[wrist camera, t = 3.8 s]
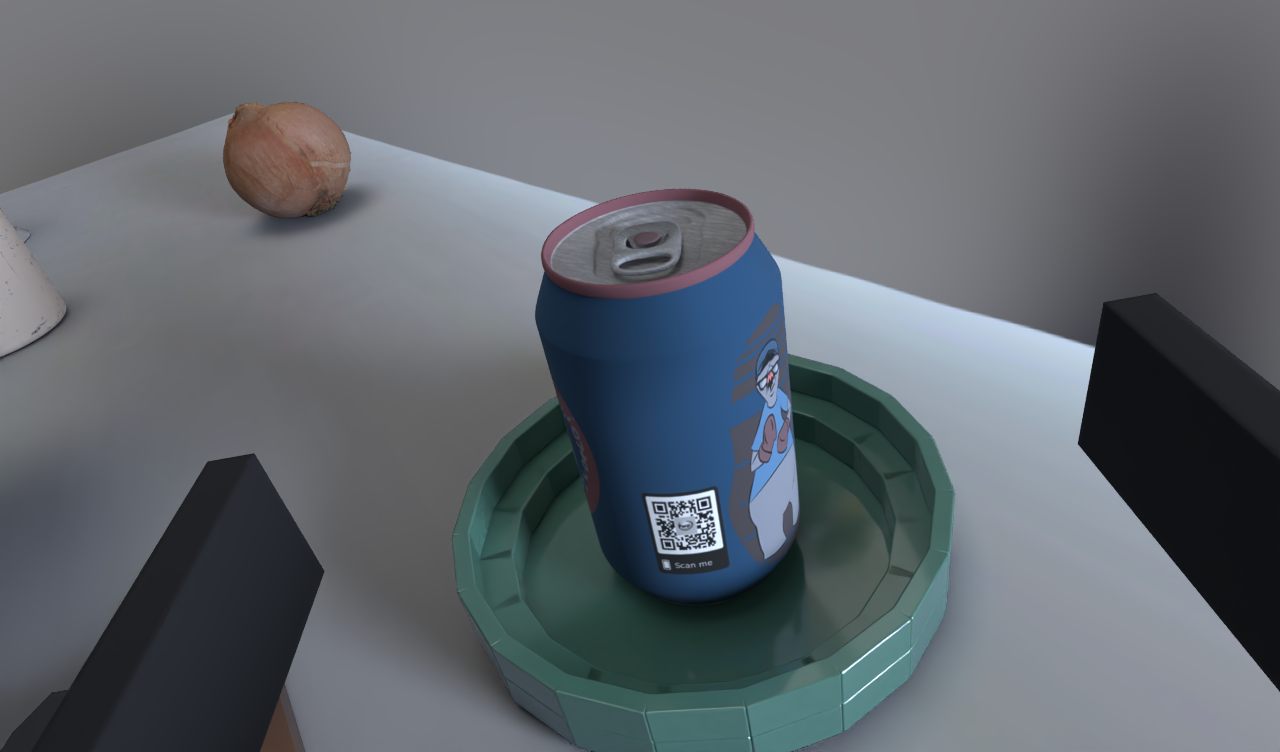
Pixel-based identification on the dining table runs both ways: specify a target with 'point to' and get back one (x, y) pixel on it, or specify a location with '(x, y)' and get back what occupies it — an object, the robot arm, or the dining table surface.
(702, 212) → the soda can
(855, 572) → the bowl
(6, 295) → the teacup with lid
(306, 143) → the onion
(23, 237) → the french press
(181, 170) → the dining table surface
